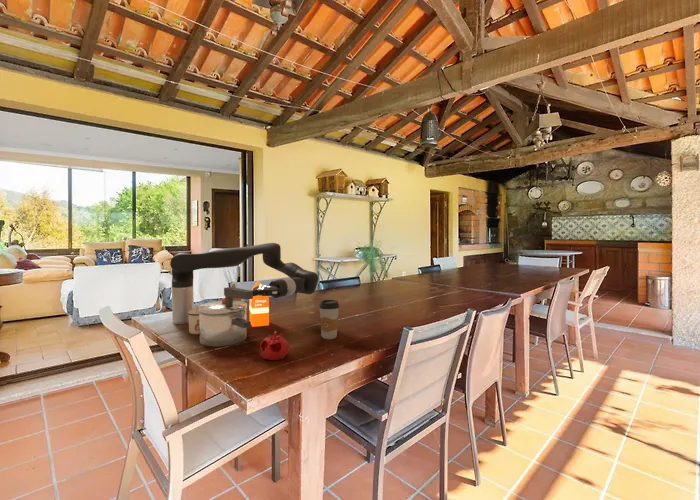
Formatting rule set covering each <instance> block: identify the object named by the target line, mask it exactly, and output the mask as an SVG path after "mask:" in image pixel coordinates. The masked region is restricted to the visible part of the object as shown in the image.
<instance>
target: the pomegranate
mask: <svg viewBox="0 0 700 500" xmlns="http://www.w3.org/2000/svg"><path fill="white" fill-rule="evenodd" d="M277 334H278V331H277V330H275V331H274V333H273V335H270V334H268V335H266V337H265V338H263V339H262V341H261V342H260V344H259V349H260V353H261V356H262V358H263V359H265V360H269V361H278V360H283V359H285V357H286V356H287V355H288V353H289V350H290V344H289V342H288V341H287V340H286V339H285V337H282V336H284V333H283V334H279V335H277Z"/></svg>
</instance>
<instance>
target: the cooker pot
mask: <svg viewBox="0 0 700 500" xmlns="http://www.w3.org/2000/svg"><path fill="white" fill-rule="evenodd" d="M199 325H200V334H199V343H200V344H201V345H204V346H206V347H207V346H208V347H222V346H223V347H225V346H231V345H235V344H239V343H241V342H244V341H245V340H246V339H247V337H248V336H247V332H248V331H247V328H251V327H252V325H251V321H250V320H247V309H246V310H244V311H241V312H237V313H232V314H223V315H208V314H202V313H199Z"/></svg>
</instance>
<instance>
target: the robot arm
mask: <svg viewBox="0 0 700 500" xmlns="http://www.w3.org/2000/svg"><path fill="white" fill-rule="evenodd" d="M281 251H282V249H281V245H280V244H279V243H275V242H268V243H260V244H254V245H251V246H241V247H229V248H221V249H215V250H211V251H207V252H202V253H187V252H178V253H176V254H175V255H173V256H172V257H171V259H170V264H169V266H170V268H171V269H172V272H171V273H172V274H171V277H172V278H171V300H172V301H171V302H172V303H171V304H172V305H171V306H172V308H171V309H172V324H175V325H182V324H183V325H184V324H189V314H188V312H189V311H190V310H193V309H194V308H195V306H194V304H195V303H194V298H195V297H194V271H196V270H202V269H203V270H204V269H222V268H231V267H237V266H240V265H242V264H243V263H244V262H246V261H247V260H248V259H250V258H252V257H254V256H258V255H262V261H263V264H265V265H266V266H268V267H270V268H272V269H274V270H276V271H278V272H280V273H282V274H284V275H286V276H287V277H289V278H285V277H284V278H281V279H273V280H271V281H270V282H269V284H265V285H262V286H261V287H259V286H256V287H254V286H253V287H254V288H253V287H252V288H253V290H252V289H250V290H251V291H253V296H269V297H272V298H273V299H279V298H283V297H288V296H291V295H296V294H304V295H312V294H314V293H315V292H316V289H317V285H318V283H319V278H320V277H319V275H318V273H316V272H314V271H311V270H308V269H307V270H306V269H304V268H303V267H302V266H299V265H298V264H297V263H294V262H286V263H284V262H283V261H282V260H281V258H282V254H281Z"/></svg>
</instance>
